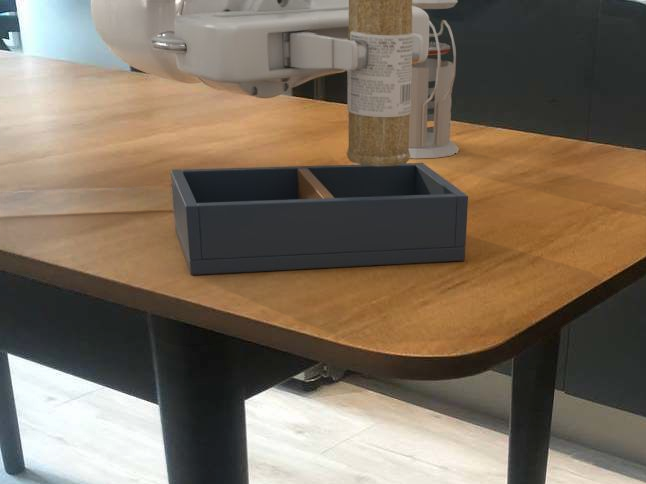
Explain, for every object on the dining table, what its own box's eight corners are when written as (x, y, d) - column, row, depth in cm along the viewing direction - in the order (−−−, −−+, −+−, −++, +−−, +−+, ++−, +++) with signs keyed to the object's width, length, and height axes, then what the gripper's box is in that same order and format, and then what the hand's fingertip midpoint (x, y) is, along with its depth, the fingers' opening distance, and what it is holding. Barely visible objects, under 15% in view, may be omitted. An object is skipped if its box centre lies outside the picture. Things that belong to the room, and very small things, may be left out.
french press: (431, 137, 116) (440, -135, 104) (486, 158, 108) (504, -136, 95) (347, 142, 112) (347, -140, 100) (398, 165, 103) (405, -142, 91)
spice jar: (370, 152, 79) (372, -56, 73) (422, 160, 77) (429, -52, 71) (333, 162, 76) (331, -55, 69) (387, 171, 74) (391, -51, 67)
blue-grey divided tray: (190, 275, 71) (185, 206, 69) (175, 232, 80) (170, 169, 78) (465, 260, 76) (468, 195, 74) (420, 221, 85) (422, 162, 83)
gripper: (132, -10, 72) (272, 7, 64) (348, -19, 85) (486, -5, 78) (141, 91, 75) (275, 119, 67) (348, 67, 89) (480, 89, 81)
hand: (390, 52), depth 73 cm, fingers closed on spice jar, 4 cm apart
